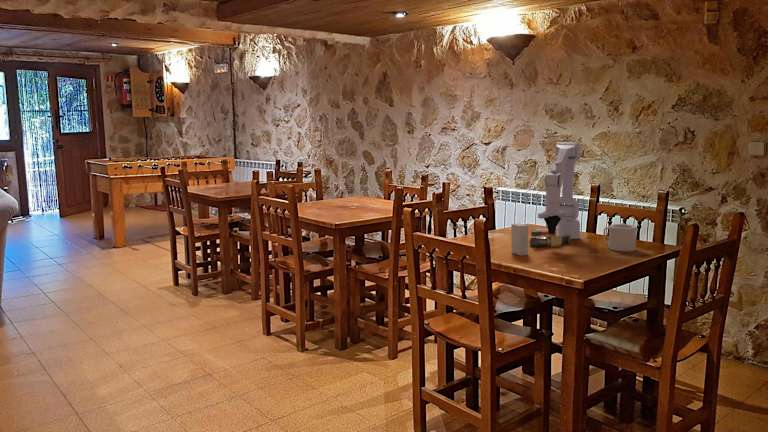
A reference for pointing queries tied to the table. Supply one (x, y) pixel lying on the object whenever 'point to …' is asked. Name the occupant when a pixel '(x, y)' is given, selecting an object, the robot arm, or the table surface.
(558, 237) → the valve body
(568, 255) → the table surface
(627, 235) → the mug
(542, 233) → the lever
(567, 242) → the pipe
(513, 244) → the skincare box
